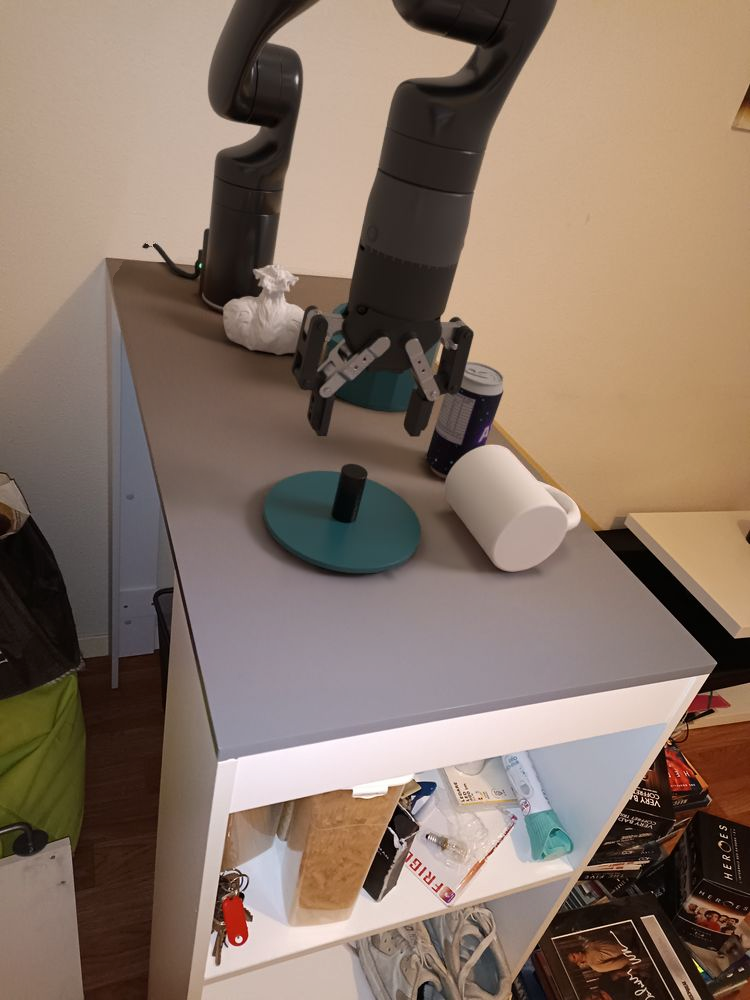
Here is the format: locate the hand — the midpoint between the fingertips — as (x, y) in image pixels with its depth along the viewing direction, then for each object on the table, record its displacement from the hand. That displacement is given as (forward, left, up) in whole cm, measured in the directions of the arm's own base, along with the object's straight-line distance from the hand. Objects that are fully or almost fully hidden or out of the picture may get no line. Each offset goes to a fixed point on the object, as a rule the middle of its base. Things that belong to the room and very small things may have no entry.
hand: (365, 432), depth 63 cm
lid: (0, 0, -10) cm, 10 cm away
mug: (+11, +13, -11) cm, 20 cm away
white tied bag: (-33, +21, -11) cm, 41 cm away
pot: (-18, +26, -10) cm, 33 cm away
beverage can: (0, +18, -11) cm, 21 cm away
